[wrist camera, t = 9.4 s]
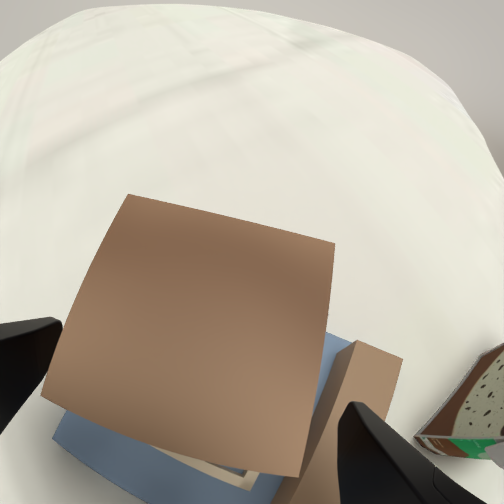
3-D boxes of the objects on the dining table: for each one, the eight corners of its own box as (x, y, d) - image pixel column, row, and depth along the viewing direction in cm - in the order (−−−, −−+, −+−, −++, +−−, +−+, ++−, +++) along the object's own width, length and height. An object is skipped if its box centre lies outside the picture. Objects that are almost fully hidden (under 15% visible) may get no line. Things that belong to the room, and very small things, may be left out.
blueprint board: (312, 554, 11) (335, 578, 8) (59, 438, 14) (26, 438, 10) (393, 366, 18) (426, 351, 15) (164, 262, 21) (155, 228, 17)
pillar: (242, 439, 15) (298, 477, 4) (152, 415, 15) (40, 395, 4) (261, 356, 17) (335, 243, 7) (177, 334, 17) (128, 194, 7)
